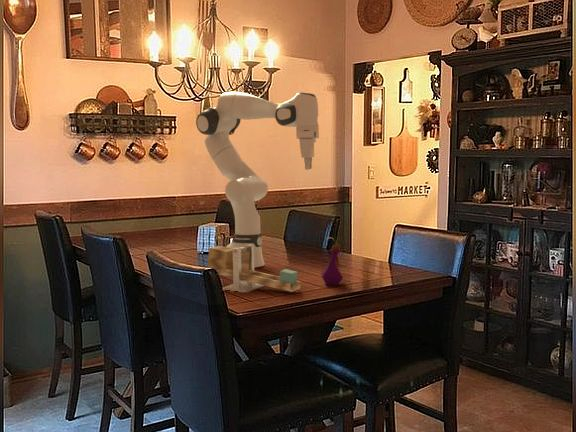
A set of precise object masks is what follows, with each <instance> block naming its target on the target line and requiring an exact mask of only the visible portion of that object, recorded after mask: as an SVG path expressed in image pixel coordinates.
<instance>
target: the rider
mask: <svg viewBox="0 0 576 432" xmlns="http://www.w3.org/2000/svg"><path fill="white" fill-rule="evenodd" d="M298 274H299V273H298V271H296V270H291V269H287V268H285V269H282V270H280V271H279V277H280V278H279V281H281V282H286V283H290V284H293V283H295V282H297V281H298Z"/></svg>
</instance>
